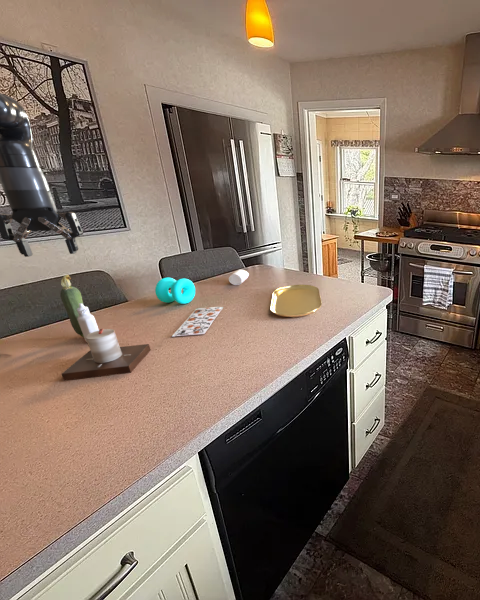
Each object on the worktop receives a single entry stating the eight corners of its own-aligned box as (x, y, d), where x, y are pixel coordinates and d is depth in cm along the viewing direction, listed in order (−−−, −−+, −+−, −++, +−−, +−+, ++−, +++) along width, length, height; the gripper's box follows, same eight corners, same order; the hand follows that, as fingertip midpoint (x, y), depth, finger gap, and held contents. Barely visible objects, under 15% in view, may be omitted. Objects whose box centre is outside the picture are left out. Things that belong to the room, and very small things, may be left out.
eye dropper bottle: (105, 334, 102) (92, 299, 98) (101, 342, 98) (87, 305, 93) (86, 338, 100) (73, 301, 96) (81, 345, 96) (67, 308, 91)
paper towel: (196, 308, 123) (223, 306, 125) (196, 308, 123) (223, 306, 125) (171, 336, 101) (204, 333, 103) (171, 337, 101) (204, 334, 103)
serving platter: (317, 286, 149) (317, 283, 149) (324, 315, 118) (323, 311, 117) (274, 289, 144) (274, 286, 143) (269, 321, 113) (268, 317, 112)
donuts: (180, 308, 123) (173, 283, 120) (157, 306, 125) (150, 281, 121) (199, 299, 132) (194, 275, 129) (177, 297, 134) (171, 274, 130)
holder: (64, 380, 79) (60, 373, 79) (92, 356, 90) (90, 349, 90) (131, 372, 83) (128, 365, 82) (150, 349, 94) (148, 343, 93)
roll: (252, 277, 161) (250, 266, 159) (242, 285, 149) (240, 273, 147) (240, 277, 160) (238, 266, 158) (229, 285, 149) (227, 273, 147)
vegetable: (72, 338, 100) (48, 275, 93) (88, 332, 104) (66, 271, 97) (83, 339, 99) (59, 277, 92) (98, 333, 103) (77, 273, 96)
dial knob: (121, 359, 85) (112, 334, 83) (92, 365, 82) (83, 339, 80) (123, 350, 90) (115, 326, 87) (96, 355, 87) (87, 331, 84)
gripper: (-27, 188, 71) (4, 260, 77) (59, 188, 77) (82, 255, 83) (-6, 187, 78) (21, 254, 83) (72, 187, 83) (92, 249, 89)
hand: (51, 254), depth 83 cm, fingers open, 8 cm apart
